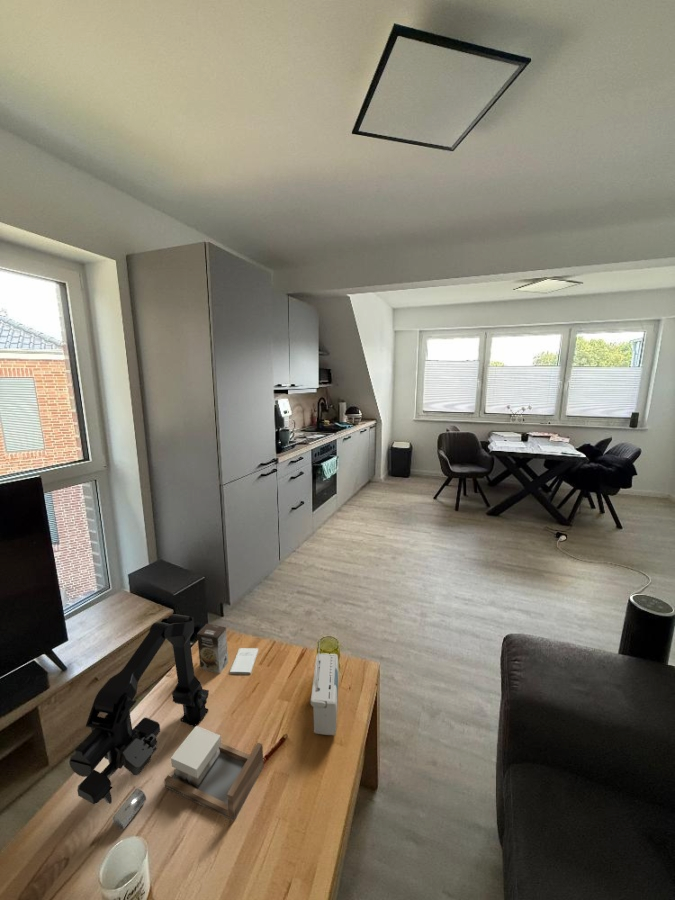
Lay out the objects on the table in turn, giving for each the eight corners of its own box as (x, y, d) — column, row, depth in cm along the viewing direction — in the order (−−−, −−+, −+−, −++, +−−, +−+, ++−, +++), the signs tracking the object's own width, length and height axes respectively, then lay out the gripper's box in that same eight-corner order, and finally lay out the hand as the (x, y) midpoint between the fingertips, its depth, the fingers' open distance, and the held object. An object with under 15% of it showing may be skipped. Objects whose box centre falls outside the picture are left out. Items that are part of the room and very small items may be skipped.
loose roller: (113, 825, 91) (111, 813, 90) (135, 797, 97) (134, 786, 96) (125, 832, 89) (123, 820, 89) (146, 803, 95) (145, 792, 95)
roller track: (165, 786, 99) (162, 763, 98) (200, 740, 112) (198, 718, 111) (234, 821, 91) (232, 796, 90) (263, 766, 104) (262, 744, 103)
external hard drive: (229, 675, 138) (239, 651, 150) (250, 675, 137) (258, 651, 150) (229, 671, 137) (239, 647, 149) (250, 672, 137) (258, 648, 149)
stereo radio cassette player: (336, 738, 112) (336, 684, 109) (310, 737, 113) (309, 684, 109) (338, 683, 133) (338, 636, 129) (316, 682, 133) (316, 635, 129)
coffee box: (199, 669, 140) (196, 633, 136) (209, 657, 146) (206, 622, 142) (219, 674, 137) (216, 637, 134) (229, 662, 143) (226, 626, 140)
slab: (171, 766, 100) (170, 757, 99) (197, 733, 109) (196, 725, 108) (197, 778, 97) (196, 769, 96) (221, 743, 106) (220, 735, 105)
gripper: (106, 784, 77) (115, 840, 80) (173, 710, 94) (178, 758, 97) (71, 765, 81) (81, 819, 84) (141, 697, 98) (147, 744, 101)
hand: (126, 782), depth 91 cm, fingers open, 9 cm apart
